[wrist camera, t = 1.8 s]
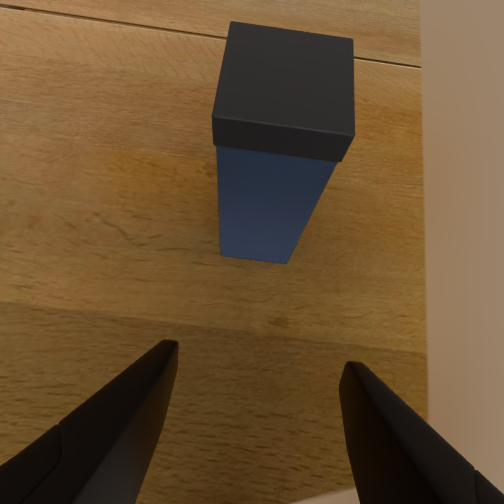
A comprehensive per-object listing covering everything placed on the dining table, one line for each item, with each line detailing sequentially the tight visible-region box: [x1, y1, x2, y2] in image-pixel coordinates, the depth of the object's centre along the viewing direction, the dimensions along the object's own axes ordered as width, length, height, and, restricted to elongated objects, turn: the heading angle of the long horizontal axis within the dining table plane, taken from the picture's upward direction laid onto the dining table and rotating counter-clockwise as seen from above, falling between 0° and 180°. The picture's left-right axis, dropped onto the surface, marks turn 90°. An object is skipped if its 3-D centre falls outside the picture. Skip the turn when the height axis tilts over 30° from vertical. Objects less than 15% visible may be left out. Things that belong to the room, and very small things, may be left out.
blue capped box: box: [212, 21, 355, 264], centre depth 19 cm, size 5×5×14 cm
